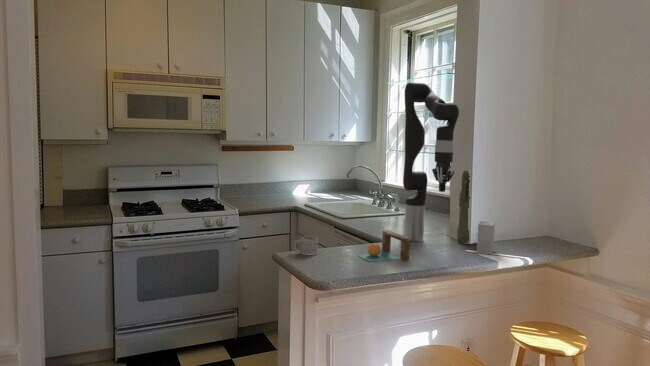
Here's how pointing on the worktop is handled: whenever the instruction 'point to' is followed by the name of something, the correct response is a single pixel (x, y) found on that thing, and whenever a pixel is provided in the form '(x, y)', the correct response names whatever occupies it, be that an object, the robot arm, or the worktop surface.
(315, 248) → the mug
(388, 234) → the bridge
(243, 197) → the worktop surface
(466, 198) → the olive green statue
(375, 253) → the ball
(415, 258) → the worktop surface
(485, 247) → the small box
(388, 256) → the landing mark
